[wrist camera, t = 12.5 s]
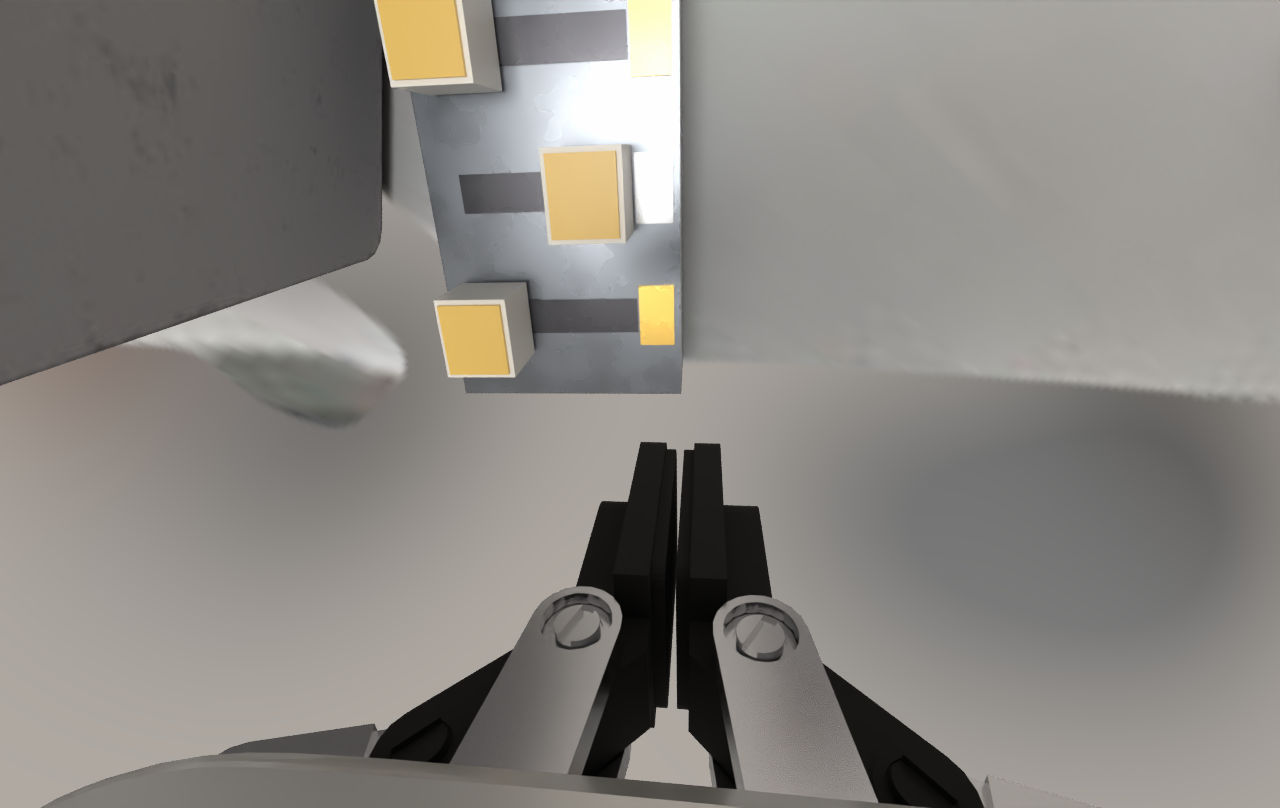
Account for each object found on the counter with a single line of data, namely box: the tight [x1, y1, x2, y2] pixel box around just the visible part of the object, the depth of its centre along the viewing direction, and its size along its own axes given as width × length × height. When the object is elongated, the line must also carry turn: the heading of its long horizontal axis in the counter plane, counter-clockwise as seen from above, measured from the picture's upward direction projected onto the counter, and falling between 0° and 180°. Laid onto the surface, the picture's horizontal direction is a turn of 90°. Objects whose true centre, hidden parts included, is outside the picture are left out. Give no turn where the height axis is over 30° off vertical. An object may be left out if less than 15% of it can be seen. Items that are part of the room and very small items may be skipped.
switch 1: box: [374, 0, 502, 95], centre depth 20 cm, size 3×3×3 cm
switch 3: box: [538, 144, 634, 245], centre depth 22 cm, size 3×3×3 cm
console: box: [410, 0, 683, 394], centre depth 26 cm, size 11×19×5 cm, turn 2°
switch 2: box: [433, 282, 535, 377], centre depth 24 cm, size 3×3×3 cm
